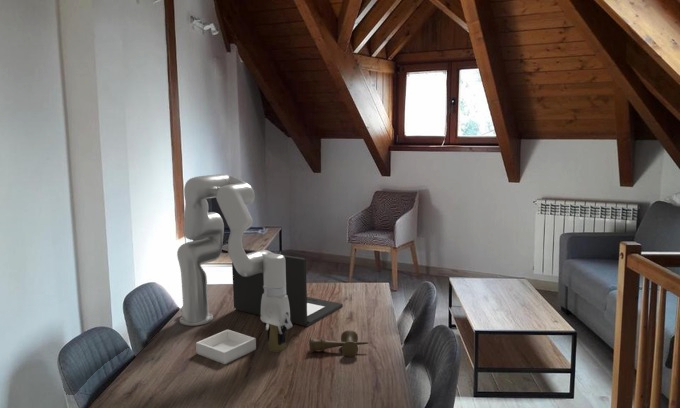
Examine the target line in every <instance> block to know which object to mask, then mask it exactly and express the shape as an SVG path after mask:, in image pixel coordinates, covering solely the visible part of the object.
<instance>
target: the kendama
mask: <svg viewBox="0 0 680 408" xmlns="http://www.w3.org/2000/svg"><path fill="white" fill-rule="evenodd" d="M368 344H369V342H368V341H359V336H358V333H357V332H356V331H354V330H351V329H347V330H345V331H343V332H342V333H341V335H340V341H336V340H329V339H328V340H327V339H325V338H324V337H322V338H320V339H316V338H314V337H312V336H311V337H310V338H309V344H308V345H309V348H308V349H309V352H310V353H311V354H312V353H314V352H316V351H322V352H325V351H326V350H328V349H333V348H340V347H341V353H342V355H343V356H344V357H349V358H352V357H355V356H357V354H358V353H359V345H360V346H362V345H368Z"/></svg>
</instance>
